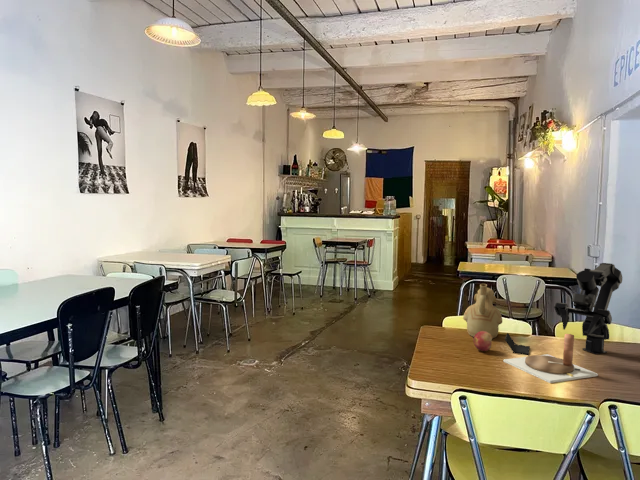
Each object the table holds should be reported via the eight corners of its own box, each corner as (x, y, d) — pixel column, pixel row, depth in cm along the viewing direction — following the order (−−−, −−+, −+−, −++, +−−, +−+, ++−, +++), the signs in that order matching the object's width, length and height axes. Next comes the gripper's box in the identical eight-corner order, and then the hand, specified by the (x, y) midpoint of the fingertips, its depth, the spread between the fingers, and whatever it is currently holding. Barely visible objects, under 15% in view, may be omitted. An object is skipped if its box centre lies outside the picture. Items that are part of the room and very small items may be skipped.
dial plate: (547, 356, 182) (547, 352, 182) (597, 375, 161) (598, 372, 161) (503, 361, 175) (503, 358, 174) (549, 383, 154) (550, 379, 154)
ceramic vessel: (502, 332, 215) (505, 280, 213) (500, 343, 198) (503, 286, 196) (465, 327, 222) (467, 276, 220) (459, 338, 205) (461, 282, 203)
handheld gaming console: (534, 352, 182) (518, 330, 184) (518, 361, 183) (503, 340, 186) (530, 347, 193) (515, 327, 195) (515, 356, 194) (501, 336, 197)
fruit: (486, 355, 182) (487, 335, 181) (469, 350, 187) (469, 331, 187) (496, 351, 187) (497, 332, 186) (478, 346, 193) (479, 328, 192)
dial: (526, 369, 163) (528, 336, 162) (524, 355, 178) (525, 325, 177) (577, 376, 158) (579, 341, 157) (570, 361, 172) (572, 330, 172)
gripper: (557, 281, 179) (544, 314, 173) (611, 289, 166) (600, 324, 159) (563, 298, 185) (551, 330, 179) (616, 306, 172) (605, 341, 165)
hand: (575, 331), depth 171 cm, fingers open, 8 cm apart
